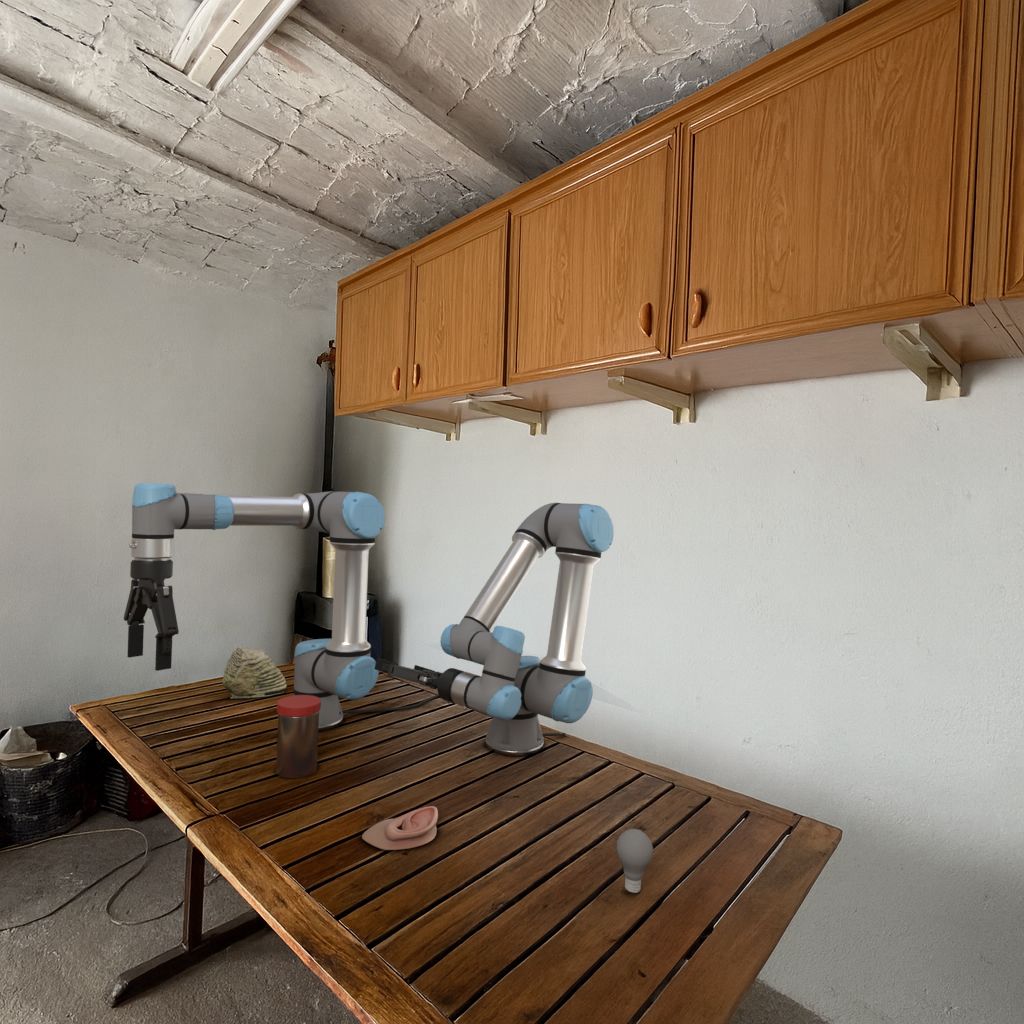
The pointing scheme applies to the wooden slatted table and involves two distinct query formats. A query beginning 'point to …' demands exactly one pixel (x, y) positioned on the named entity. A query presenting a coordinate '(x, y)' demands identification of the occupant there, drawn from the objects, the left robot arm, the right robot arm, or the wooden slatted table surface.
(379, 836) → the anatomical model
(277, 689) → the fossil
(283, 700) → the lid
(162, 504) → the left robot arm
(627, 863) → the light bulb
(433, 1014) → the wooden slatted table surface
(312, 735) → the jar
